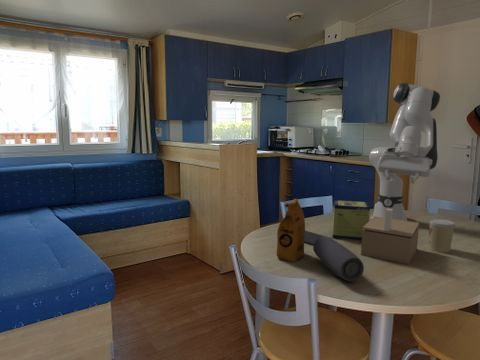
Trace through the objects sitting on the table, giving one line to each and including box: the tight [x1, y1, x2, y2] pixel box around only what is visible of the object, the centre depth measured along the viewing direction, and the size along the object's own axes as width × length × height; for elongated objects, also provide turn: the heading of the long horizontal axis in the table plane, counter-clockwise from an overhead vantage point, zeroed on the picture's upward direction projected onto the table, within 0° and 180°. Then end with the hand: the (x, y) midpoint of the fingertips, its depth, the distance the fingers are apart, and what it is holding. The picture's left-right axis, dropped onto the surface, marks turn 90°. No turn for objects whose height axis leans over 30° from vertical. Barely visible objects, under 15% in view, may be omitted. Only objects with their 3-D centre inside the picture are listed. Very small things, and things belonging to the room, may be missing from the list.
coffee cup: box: [428, 218, 456, 254], centre depth 160 cm, size 9×9×12 cm
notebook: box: [304, 230, 333, 247], centre depth 174 cm, size 13×2×21 cm
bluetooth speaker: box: [312, 235, 365, 282], centre depth 136 cm, size 23×9×10 cm, turn 12°
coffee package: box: [276, 198, 306, 262], centre depth 149 cm, size 10×12×22 cm
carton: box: [360, 225, 420, 265], centre depth 156 cm, size 20×18×10 cm
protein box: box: [331, 200, 371, 241], centre depth 176 cm, size 10×16×16 cm
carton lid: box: [363, 208, 420, 237], centre depth 155 cm, size 20×18×9 cm
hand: (400, 180), depth 157 cm, fingers open, 8 cm apart
